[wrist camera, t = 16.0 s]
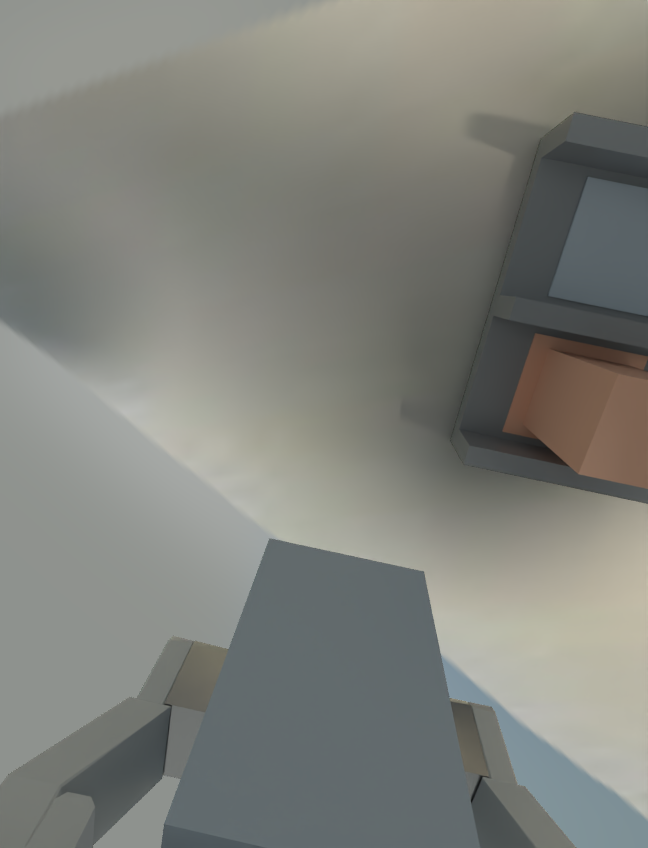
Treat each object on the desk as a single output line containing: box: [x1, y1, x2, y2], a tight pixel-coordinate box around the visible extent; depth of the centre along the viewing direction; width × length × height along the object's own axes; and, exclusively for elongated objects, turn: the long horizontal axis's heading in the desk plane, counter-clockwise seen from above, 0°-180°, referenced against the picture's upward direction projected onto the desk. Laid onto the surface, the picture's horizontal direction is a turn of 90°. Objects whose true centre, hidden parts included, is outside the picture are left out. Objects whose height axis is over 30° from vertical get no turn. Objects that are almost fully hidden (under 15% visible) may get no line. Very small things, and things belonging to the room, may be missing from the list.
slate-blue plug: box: [161, 539, 480, 848], centre depth 9 cm, size 4×4×6 cm
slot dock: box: [450, 112, 648, 504], centre depth 22 cm, size 10×15×4 cm, turn 169°
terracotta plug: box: [523, 349, 648, 489], centre depth 20 cm, size 4×4×6 cm
